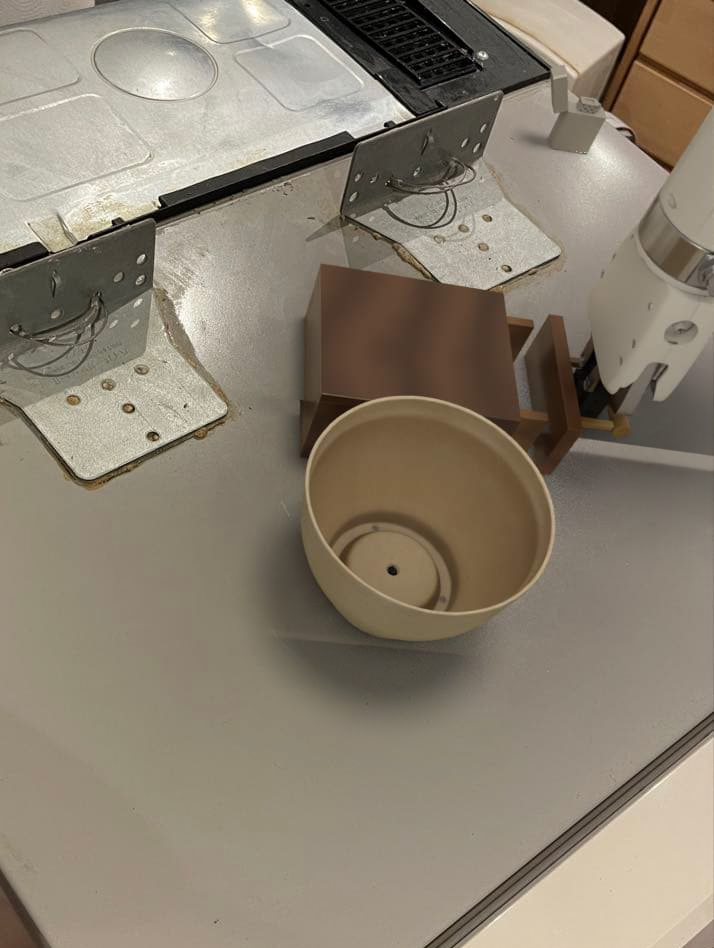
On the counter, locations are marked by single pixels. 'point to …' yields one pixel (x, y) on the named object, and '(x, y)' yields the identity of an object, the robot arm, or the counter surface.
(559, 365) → the drawer
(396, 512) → the planter bowl
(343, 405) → the cabinet
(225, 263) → the counter surface
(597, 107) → the lighter
